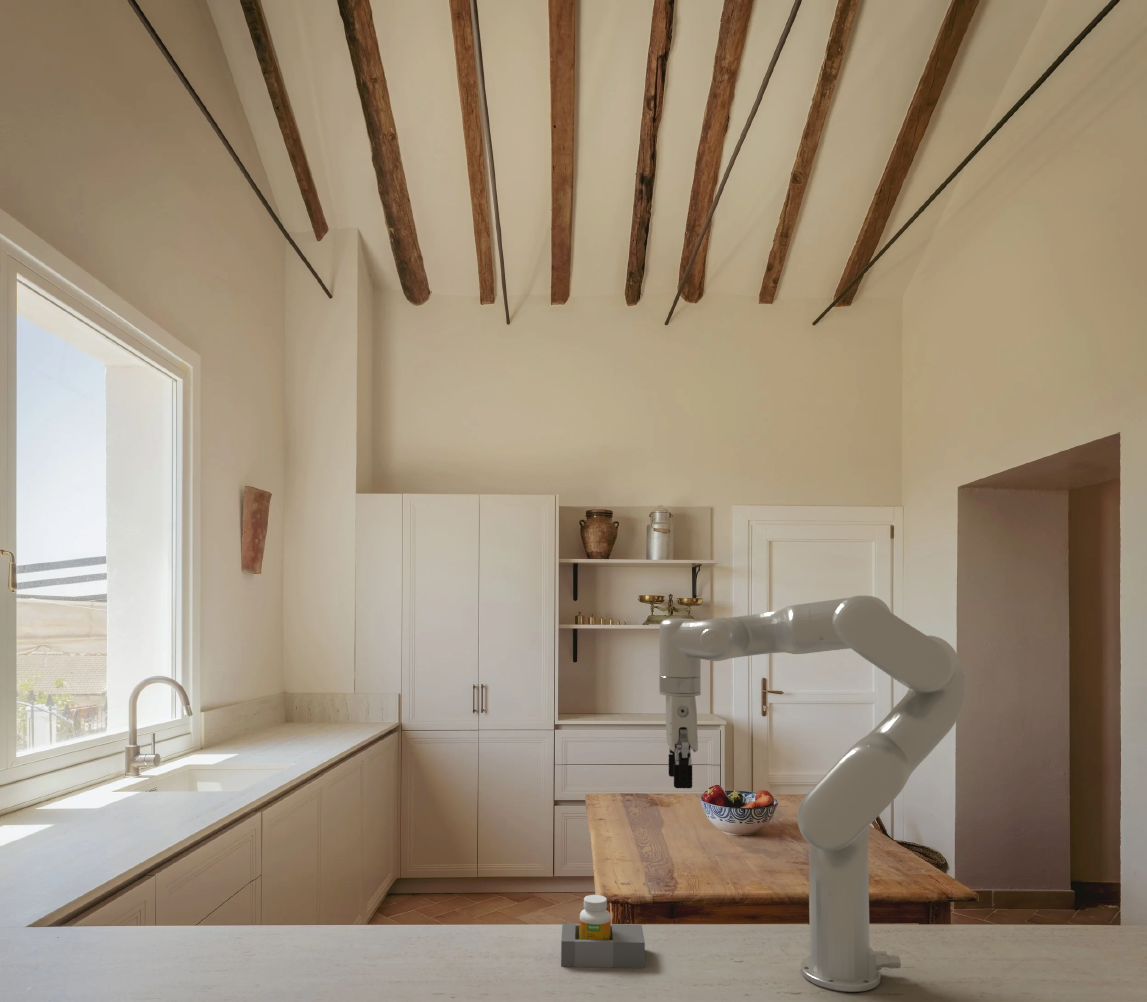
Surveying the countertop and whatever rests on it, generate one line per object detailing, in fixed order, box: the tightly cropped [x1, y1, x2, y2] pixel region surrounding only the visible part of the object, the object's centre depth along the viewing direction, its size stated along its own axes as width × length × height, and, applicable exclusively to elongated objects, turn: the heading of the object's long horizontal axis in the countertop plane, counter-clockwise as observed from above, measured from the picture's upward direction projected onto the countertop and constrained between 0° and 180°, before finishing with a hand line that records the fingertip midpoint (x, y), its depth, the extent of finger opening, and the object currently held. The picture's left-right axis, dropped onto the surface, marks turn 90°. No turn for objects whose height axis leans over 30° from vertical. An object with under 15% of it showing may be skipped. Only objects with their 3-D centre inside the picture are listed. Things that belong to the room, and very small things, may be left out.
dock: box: [560, 923, 646, 969], centre depth 153 cm, size 14×8×4 cm, turn 89°
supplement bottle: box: [578, 894, 612, 940], centre depth 153 cm, size 5×5×10 cm
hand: (680, 781), depth 161 cm, fingers open, 9 cm apart
